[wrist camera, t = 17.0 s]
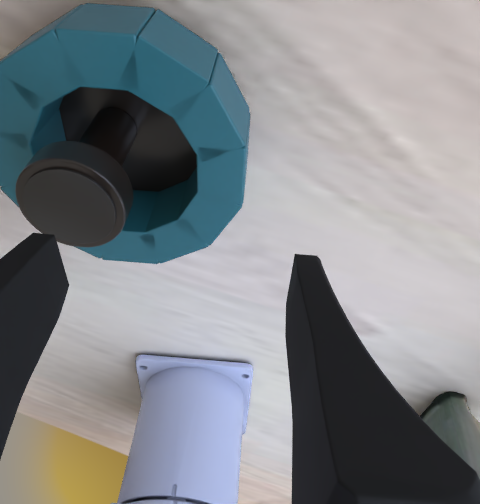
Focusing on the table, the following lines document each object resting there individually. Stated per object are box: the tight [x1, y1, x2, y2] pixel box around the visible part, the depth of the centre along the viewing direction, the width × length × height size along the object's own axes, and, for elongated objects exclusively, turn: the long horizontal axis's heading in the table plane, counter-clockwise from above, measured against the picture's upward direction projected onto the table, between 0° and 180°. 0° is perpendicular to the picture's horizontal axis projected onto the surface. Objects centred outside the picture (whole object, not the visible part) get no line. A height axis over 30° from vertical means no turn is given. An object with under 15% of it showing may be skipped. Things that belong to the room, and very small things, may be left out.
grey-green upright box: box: [420, 392, 480, 479], centre depth 31 cm, size 6×5×8 cm
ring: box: [0, 3, 250, 264], centre depth 18 cm, size 10×10×3 cm
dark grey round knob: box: [15, 87, 197, 247], centre depth 17 cm, size 8×8×6 cm
